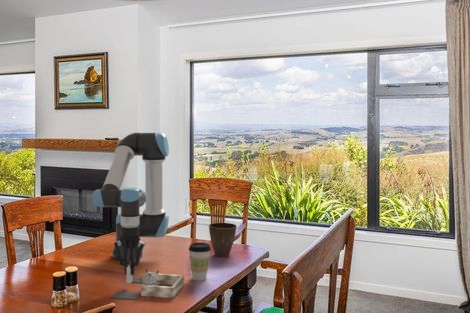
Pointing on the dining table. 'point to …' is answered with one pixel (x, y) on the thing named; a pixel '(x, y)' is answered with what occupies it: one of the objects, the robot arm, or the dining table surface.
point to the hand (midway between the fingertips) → (129, 282)
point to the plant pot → (222, 237)
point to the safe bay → (164, 290)
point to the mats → (126, 294)
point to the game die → (151, 278)
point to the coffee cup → (199, 260)
